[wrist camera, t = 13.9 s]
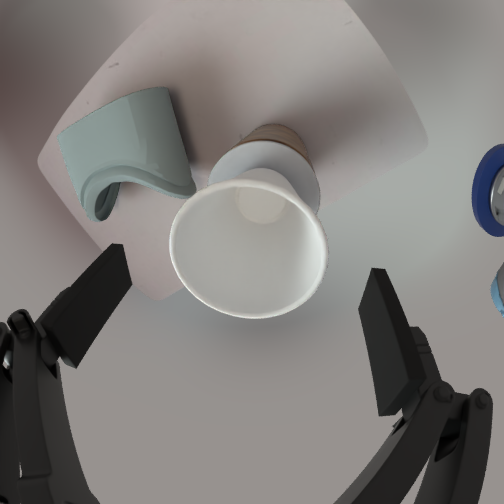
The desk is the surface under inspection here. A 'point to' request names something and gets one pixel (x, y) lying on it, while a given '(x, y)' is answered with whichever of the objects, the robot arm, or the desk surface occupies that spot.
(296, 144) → the plinth
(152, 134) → the sage-green arched shell
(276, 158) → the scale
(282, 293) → the cup
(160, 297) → the desk surface
